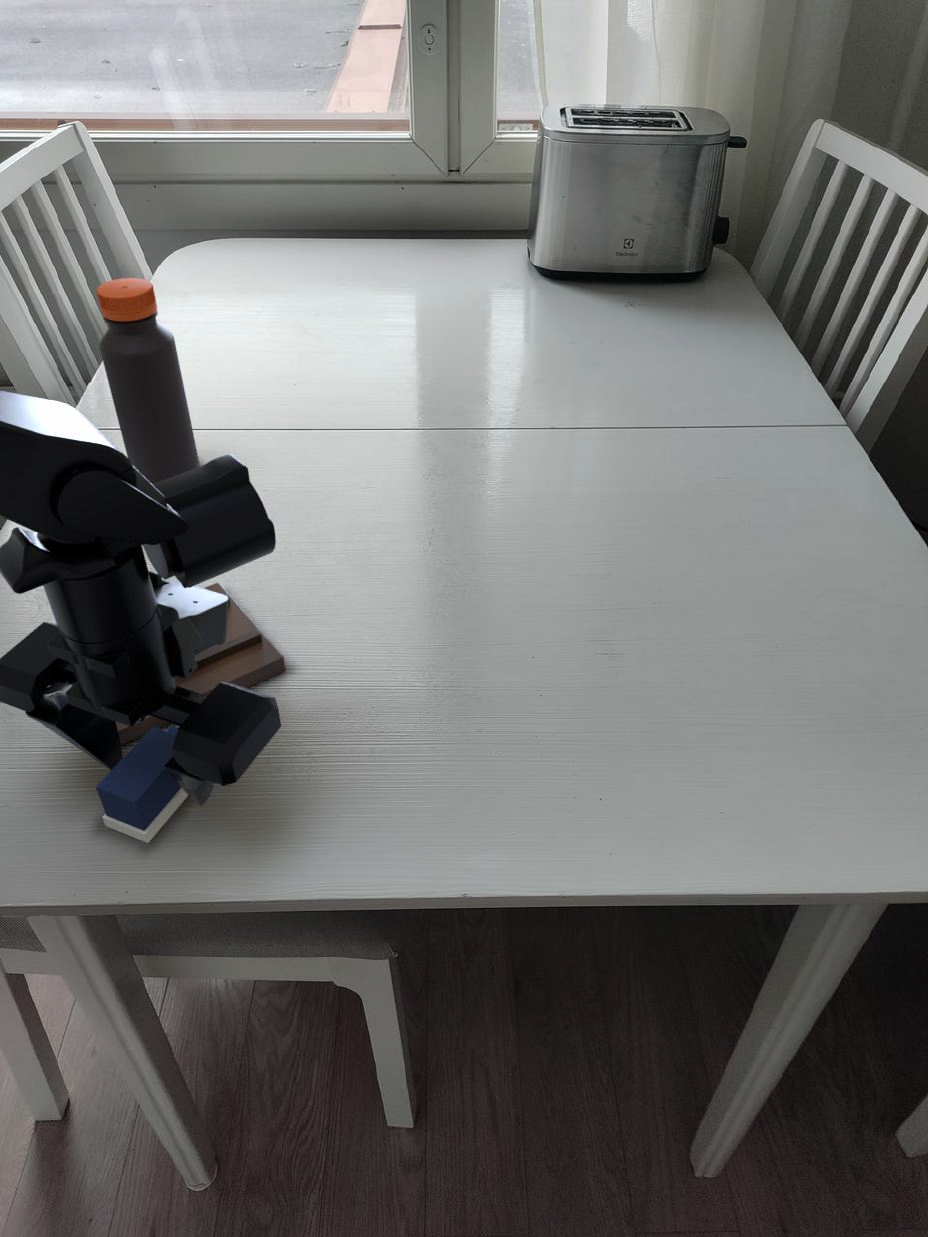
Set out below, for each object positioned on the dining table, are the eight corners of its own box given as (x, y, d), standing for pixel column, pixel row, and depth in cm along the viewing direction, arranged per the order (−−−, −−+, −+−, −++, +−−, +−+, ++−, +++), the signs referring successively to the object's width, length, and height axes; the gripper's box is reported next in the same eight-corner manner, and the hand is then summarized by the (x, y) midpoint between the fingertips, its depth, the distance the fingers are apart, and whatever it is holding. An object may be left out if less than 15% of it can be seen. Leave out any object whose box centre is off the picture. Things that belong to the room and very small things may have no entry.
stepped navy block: (148, 843, 64) (135, 806, 62) (105, 826, 65) (90, 788, 63) (217, 761, 70) (208, 723, 67) (176, 746, 71) (166, 708, 68)
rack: (117, 747, 71) (110, 726, 69) (63, 658, 78) (55, 637, 77) (286, 670, 77) (282, 649, 76) (221, 595, 85) (216, 574, 83)
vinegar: (205, 459, 102) (168, 272, 89) (196, 494, 97) (156, 301, 84) (140, 461, 102) (94, 274, 89) (128, 496, 96) (77, 303, 83)
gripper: (313, 575, 60) (333, 745, 70) (76, 507, 65) (127, 672, 75) (207, 690, 52) (248, 862, 62) (-51, 601, 58) (24, 772, 68)
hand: (160, 783), depth 67 cm, fingers open, 7 cm apart
